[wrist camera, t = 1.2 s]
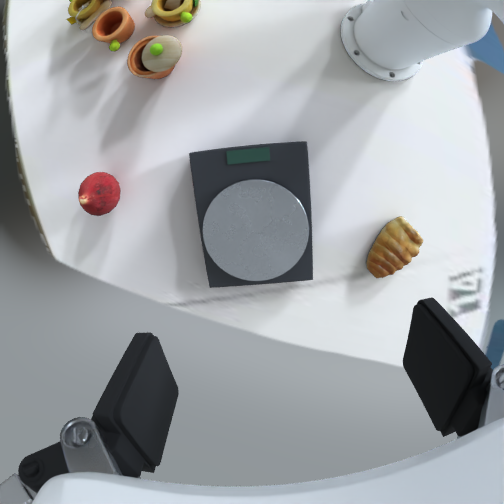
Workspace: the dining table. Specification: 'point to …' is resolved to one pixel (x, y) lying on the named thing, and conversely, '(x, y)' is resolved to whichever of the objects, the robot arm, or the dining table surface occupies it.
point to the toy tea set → (122, 26)
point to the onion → (99, 193)
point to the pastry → (393, 248)
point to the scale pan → (255, 230)
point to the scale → (244, 168)
